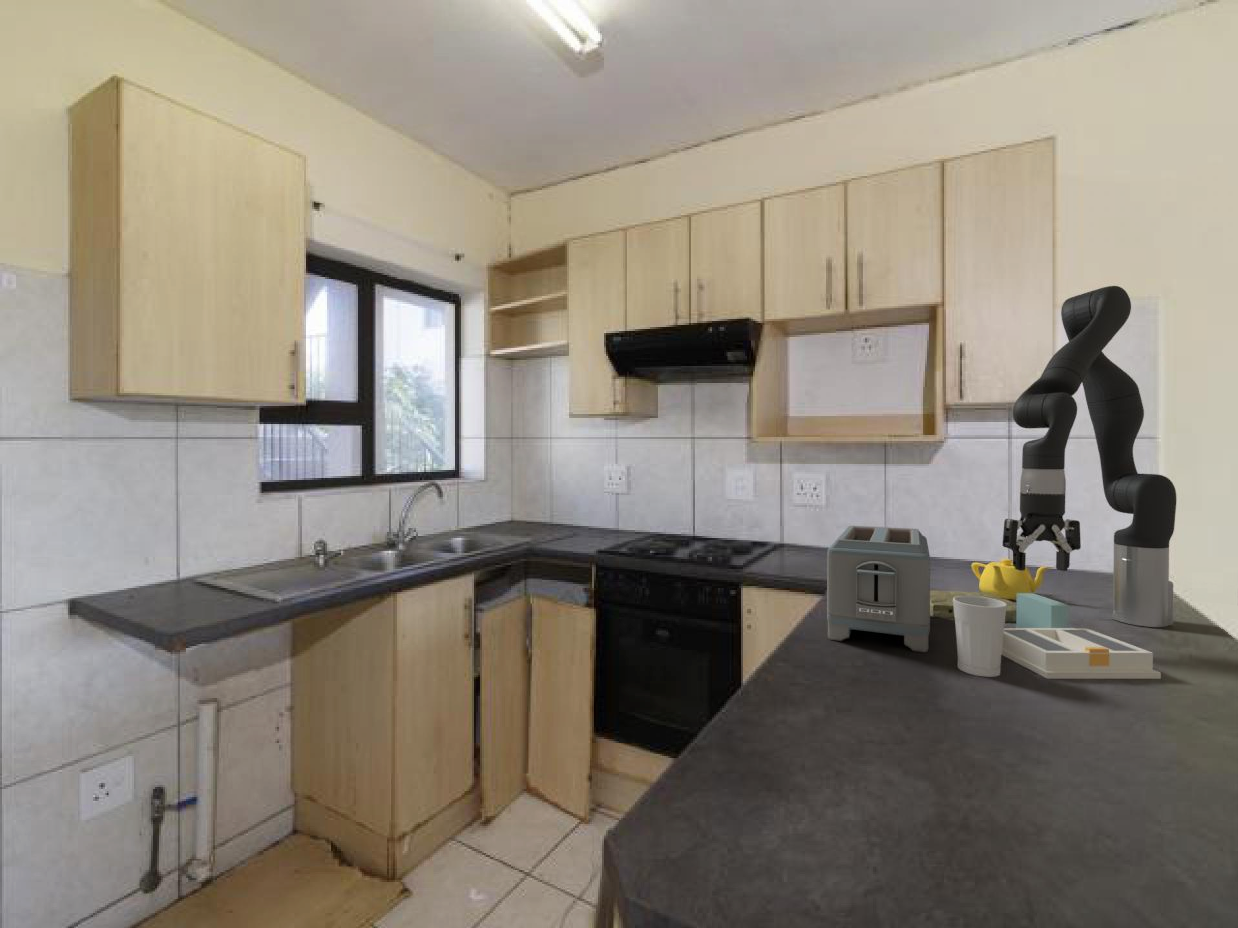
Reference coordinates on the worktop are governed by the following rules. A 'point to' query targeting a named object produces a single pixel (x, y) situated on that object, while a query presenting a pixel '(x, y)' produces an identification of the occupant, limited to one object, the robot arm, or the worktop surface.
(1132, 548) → the robot arm
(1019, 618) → the panel
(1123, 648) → the tray
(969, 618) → the cup
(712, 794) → the worktop surface
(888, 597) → the toaster
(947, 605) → the decorative tile
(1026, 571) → the teapot
